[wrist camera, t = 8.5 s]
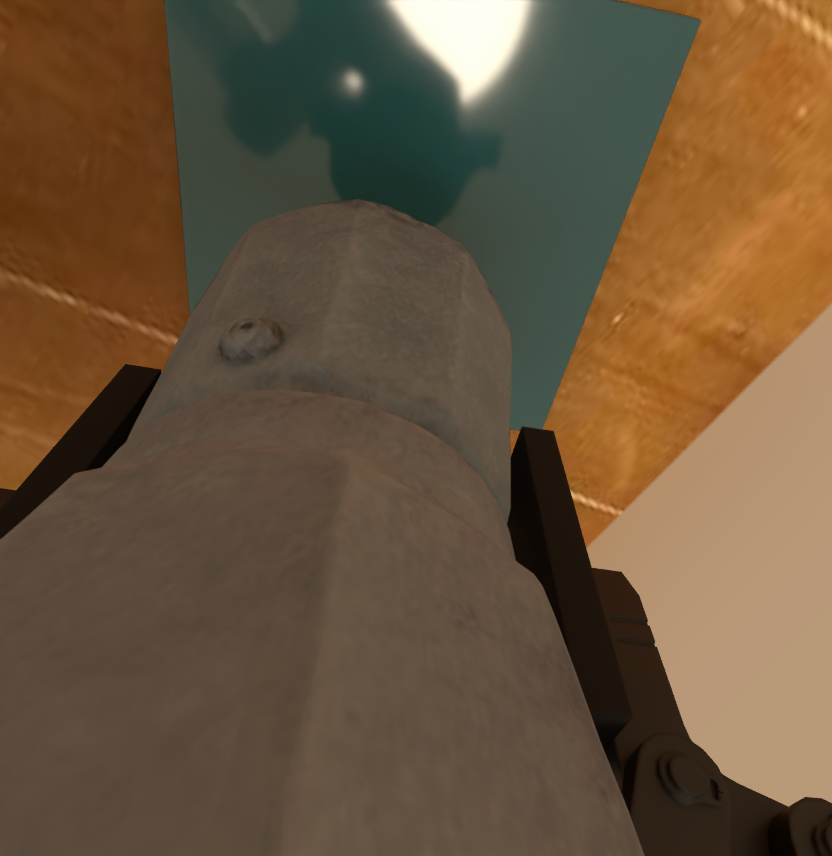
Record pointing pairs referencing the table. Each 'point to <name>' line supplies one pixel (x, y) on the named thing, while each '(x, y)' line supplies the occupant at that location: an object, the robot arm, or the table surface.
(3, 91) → the table surface
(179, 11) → the plate
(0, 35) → the table surface
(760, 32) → the table surface
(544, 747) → the moka pot
